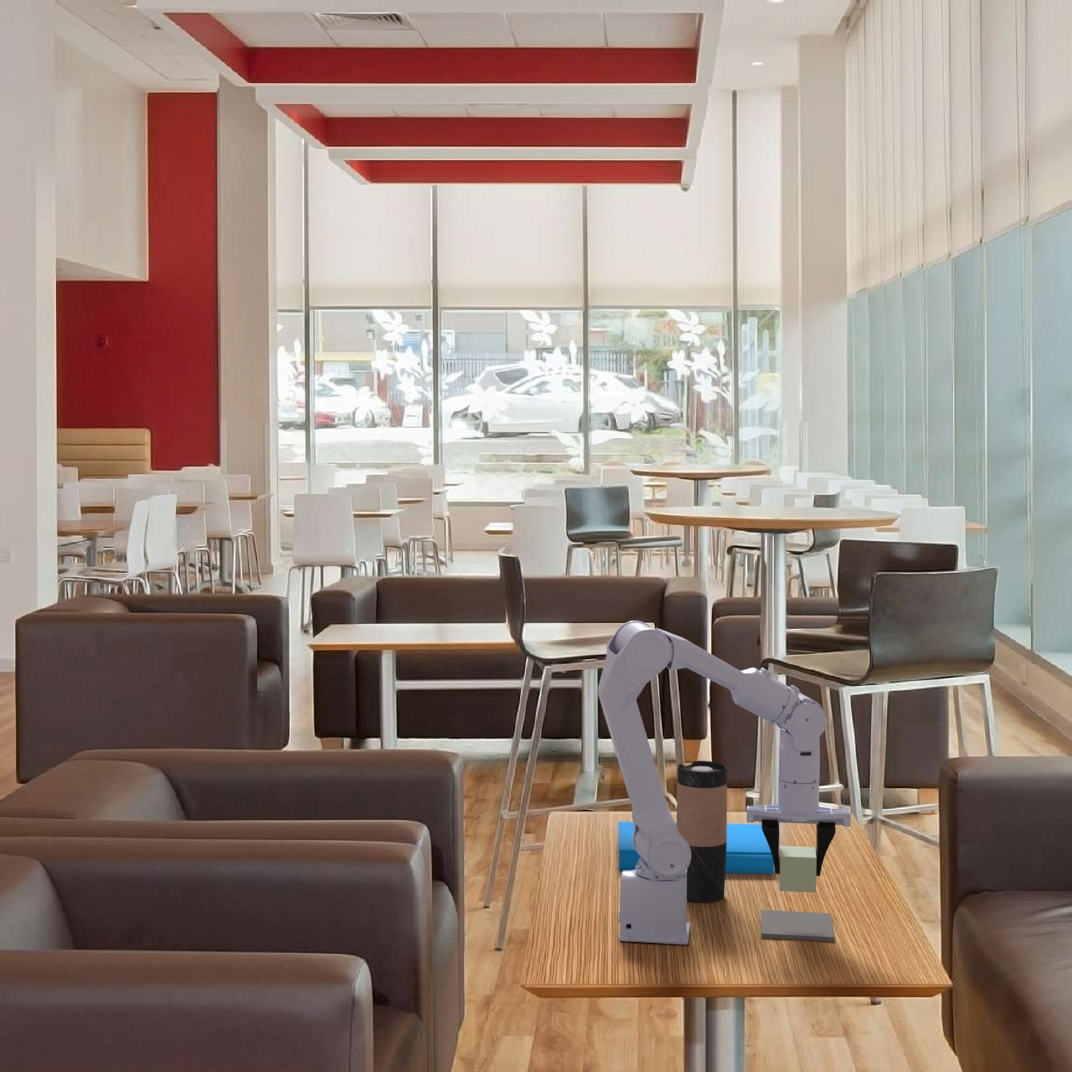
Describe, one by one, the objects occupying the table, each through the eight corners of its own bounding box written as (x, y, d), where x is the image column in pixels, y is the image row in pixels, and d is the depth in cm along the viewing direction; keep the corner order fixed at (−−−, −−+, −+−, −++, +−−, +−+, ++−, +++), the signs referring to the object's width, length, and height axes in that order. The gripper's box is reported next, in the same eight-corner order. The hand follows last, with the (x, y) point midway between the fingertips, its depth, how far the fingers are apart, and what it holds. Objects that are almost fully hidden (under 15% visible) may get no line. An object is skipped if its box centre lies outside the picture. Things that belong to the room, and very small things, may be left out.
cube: (779, 890, 201) (780, 856, 201) (779, 879, 206) (779, 845, 206) (815, 892, 200) (816, 857, 200) (814, 881, 205) (814, 847, 205)
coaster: (761, 937, 200) (761, 933, 200) (760, 913, 210) (760, 909, 210) (834, 941, 198) (834, 937, 198) (830, 917, 208) (830, 913, 208)
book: (616, 821, 246) (762, 821, 245) (616, 846, 246) (762, 846, 245) (618, 850, 229) (775, 851, 228) (618, 877, 229) (775, 877, 228)
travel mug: (724, 905, 213) (725, 773, 212) (673, 901, 215) (674, 770, 213) (727, 889, 221) (729, 761, 219) (678, 885, 222) (679, 759, 221)
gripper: (747, 784, 199) (745, 879, 200) (853, 788, 197) (851, 884, 198) (747, 772, 206) (746, 864, 207) (849, 775, 204) (847, 868, 205)
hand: (797, 873), depth 203 cm, fingers closed on cube, 5 cm apart
